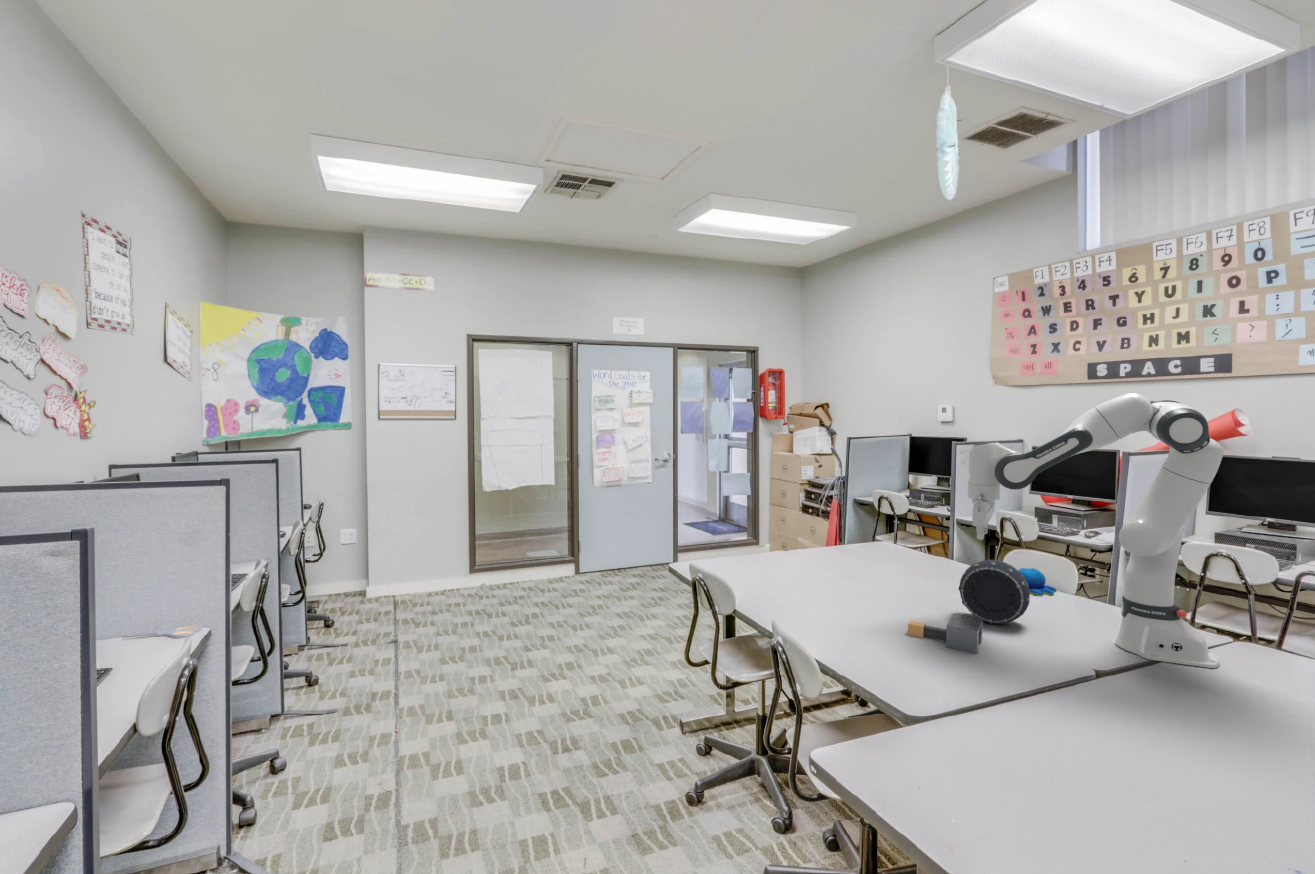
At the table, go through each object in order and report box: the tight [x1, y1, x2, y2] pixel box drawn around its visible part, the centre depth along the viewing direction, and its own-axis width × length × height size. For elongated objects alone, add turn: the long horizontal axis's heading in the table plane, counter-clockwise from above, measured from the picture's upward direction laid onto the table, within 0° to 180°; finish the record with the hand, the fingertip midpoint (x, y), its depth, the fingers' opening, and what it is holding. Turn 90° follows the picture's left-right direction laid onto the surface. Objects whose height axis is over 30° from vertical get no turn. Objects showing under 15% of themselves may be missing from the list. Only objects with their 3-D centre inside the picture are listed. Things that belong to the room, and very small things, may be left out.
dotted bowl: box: [958, 559, 1031, 625], centre depth 196 cm, size 11×20×20 cm, turn 53°
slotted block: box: [945, 613, 984, 654], centre depth 178 cm, size 8×12×6 cm, turn 146°
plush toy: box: [1017, 567, 1057, 597], centre depth 232 cm, size 17×17×8 cm
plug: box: [907, 620, 947, 642], centre depth 182 cm, size 18×4×3 cm, turn 56°
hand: (982, 536), depth 190 cm, fingers open, 8 cm apart
